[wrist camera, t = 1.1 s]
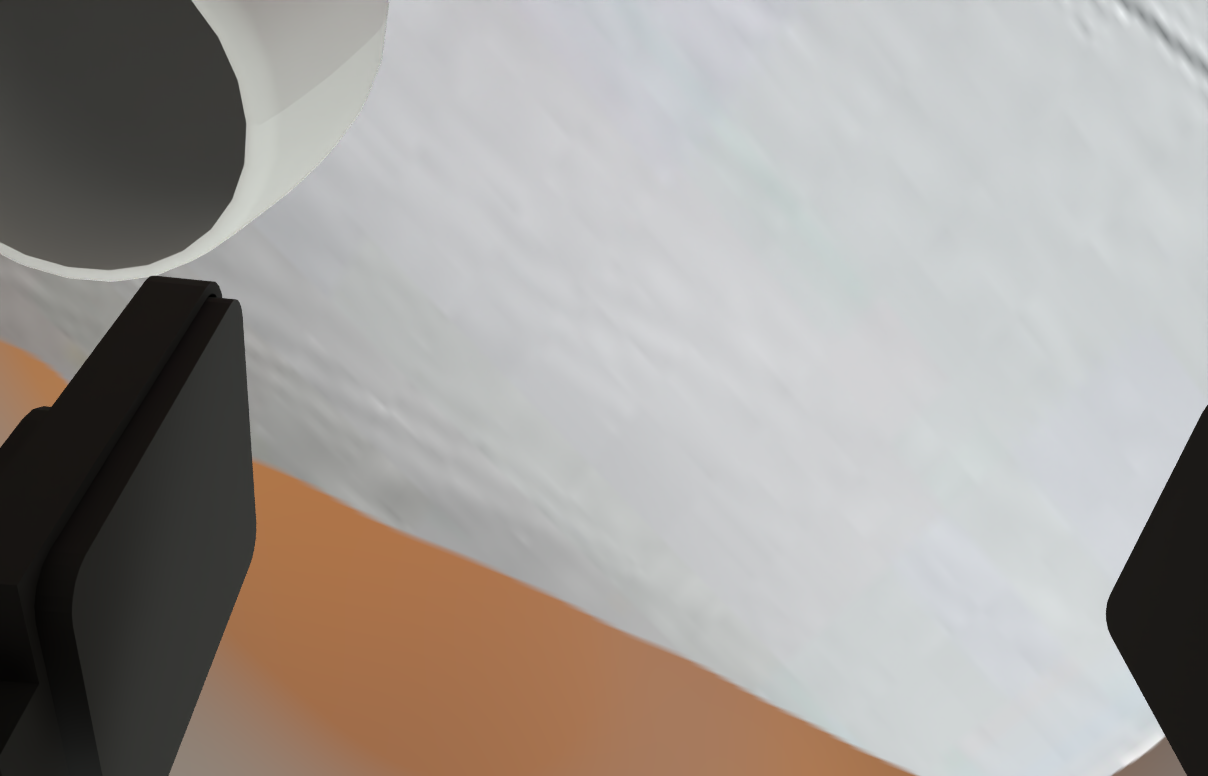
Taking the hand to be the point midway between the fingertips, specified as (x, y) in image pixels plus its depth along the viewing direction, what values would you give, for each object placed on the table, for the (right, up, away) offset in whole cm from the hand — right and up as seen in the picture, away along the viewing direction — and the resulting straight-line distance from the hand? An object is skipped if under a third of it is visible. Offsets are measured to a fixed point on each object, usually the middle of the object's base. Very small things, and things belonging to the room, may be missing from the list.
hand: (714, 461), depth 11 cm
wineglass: (-9, +16, +23) cm, 30 cm away
